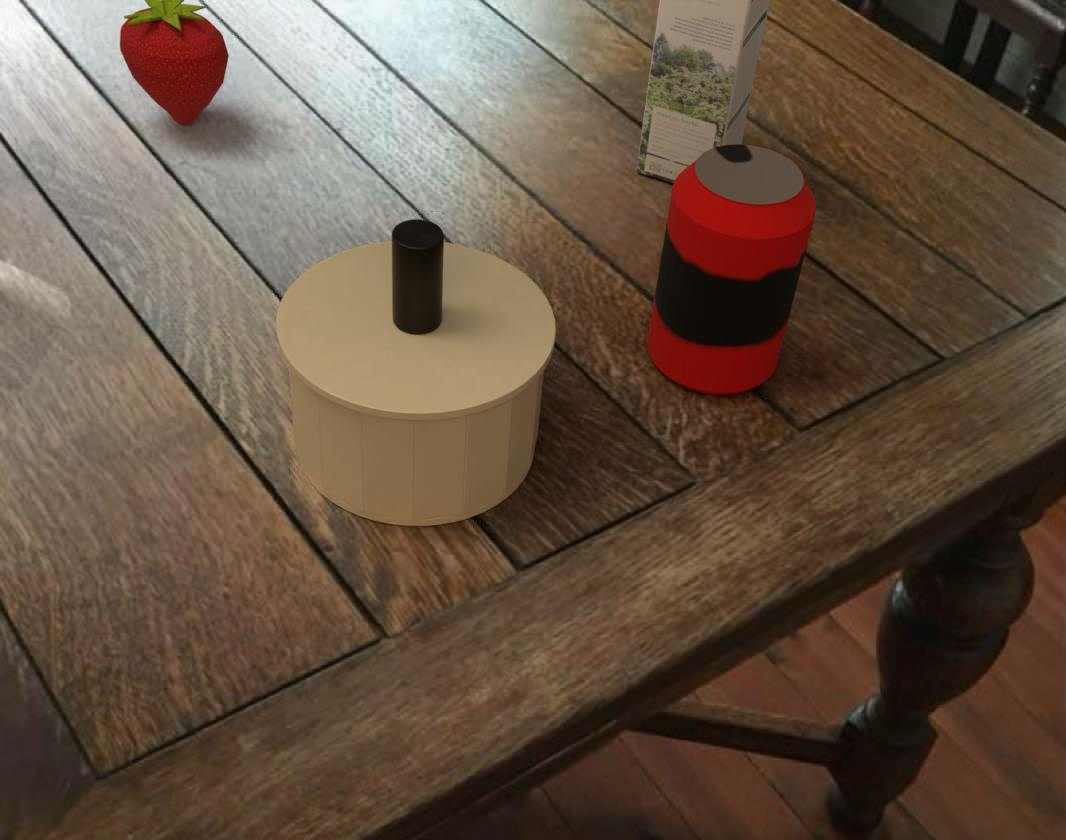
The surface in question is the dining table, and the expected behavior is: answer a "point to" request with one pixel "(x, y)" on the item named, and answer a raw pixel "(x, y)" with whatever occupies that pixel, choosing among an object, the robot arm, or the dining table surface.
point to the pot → (415, 457)
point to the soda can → (729, 268)
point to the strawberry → (175, 56)
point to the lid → (415, 327)
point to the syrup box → (699, 81)
